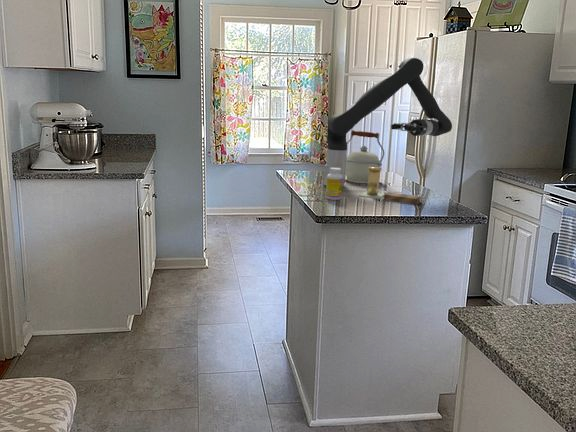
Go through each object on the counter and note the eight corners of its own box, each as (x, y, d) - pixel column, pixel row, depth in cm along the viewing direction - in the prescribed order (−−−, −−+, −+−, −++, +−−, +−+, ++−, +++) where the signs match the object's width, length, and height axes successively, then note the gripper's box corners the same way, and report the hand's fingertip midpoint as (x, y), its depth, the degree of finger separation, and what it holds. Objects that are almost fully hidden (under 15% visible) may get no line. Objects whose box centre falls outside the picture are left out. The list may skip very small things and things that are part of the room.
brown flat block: (383, 200, 238) (383, 194, 237) (387, 197, 245) (387, 192, 244) (417, 205, 232) (417, 199, 232) (420, 202, 239) (421, 196, 238)
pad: (359, 196, 244) (359, 194, 244) (364, 192, 252) (365, 191, 252) (379, 198, 241) (379, 197, 241) (384, 195, 249) (384, 194, 249)
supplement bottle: (340, 200, 232) (342, 170, 229) (324, 199, 233) (326, 168, 230) (342, 197, 239) (344, 168, 236) (326, 196, 240) (328, 166, 237)
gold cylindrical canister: (364, 194, 245) (367, 167, 242) (367, 192, 250) (370, 166, 247) (376, 196, 243) (379, 169, 240) (379, 194, 248) (382, 168, 245)
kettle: (388, 181, 286) (392, 132, 280) (373, 186, 270) (378, 134, 265) (344, 175, 298) (348, 128, 293) (327, 179, 283) (331, 129, 277)
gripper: (408, 117, 260) (387, 117, 249) (435, 120, 250) (414, 120, 239) (407, 134, 262) (385, 134, 251) (433, 137, 252) (412, 138, 241)
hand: (399, 127), depth 245 cm, fingers open, 8 cm apart
